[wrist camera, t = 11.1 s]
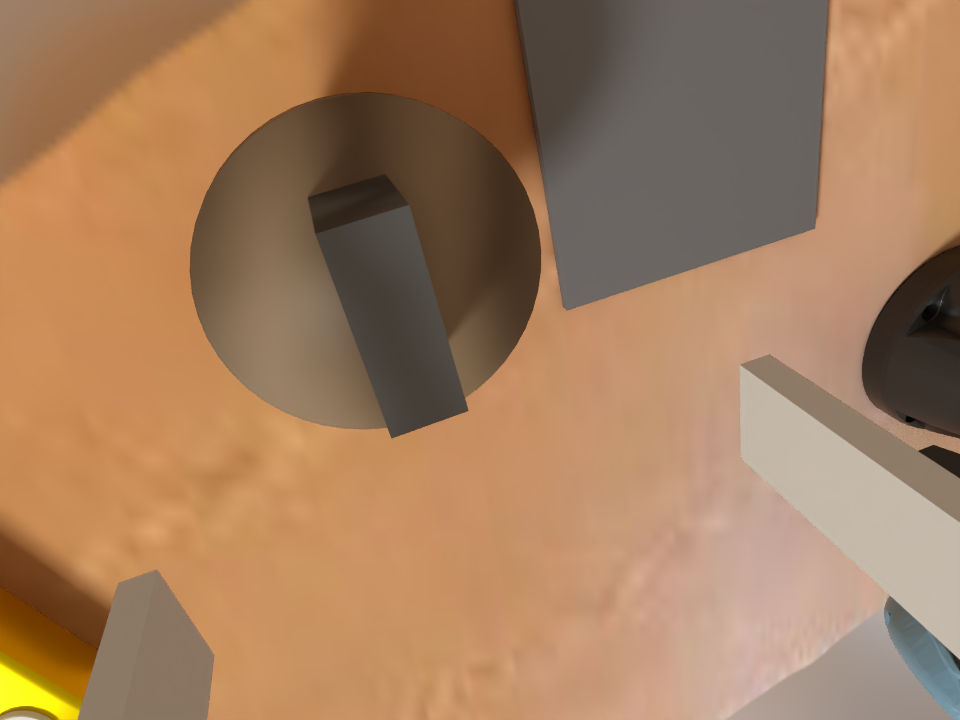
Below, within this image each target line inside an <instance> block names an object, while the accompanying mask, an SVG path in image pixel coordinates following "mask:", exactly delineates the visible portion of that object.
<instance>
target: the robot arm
mask: <svg viewBox="0 0 960 720" xmlns="http://www.w3.org/2000/svg"><path fill="white" fill-rule="evenodd" d="M862 379H863V385H864V389H865V392H866V394H867V396H868V398H869V399H870V401H871V402H872V403H873V404H874V405H875V406H876V407H877V408H879V409H880V410H882V411H883V412H885V413H887V414H888V415H890V416H892V417H893V418H895V419H896V420H898V421H900V422H902V423H904V424H906V425H909V426H912V427H916V428H921V429H926V430H929V431H932V432H936V433H940V434H943V435H947V436H951V437H955V438H959V439H960V246H958V247H955V248H953V249H951V250H948V251H946V252H944V253H943V254H941V255H939V256H937V257H936V258H934V259H932V260H931V261H929V262H928V263H927V264H925V265H924V266H923V267H921V268H920V269H919V270H918V271H917V272H915V273H914V274H913V275H912V276H911V277H910V278H909V279H908V280H907V281H906V282H905V283H904V284H903V285H902V286H901V287H900V288H899V289H898V291H897V292H896V293H895V294H894V295H893V297H892V298H891V299H890V301H889V302H888V303H887V305H886V306H885V308H884V309H883V311H882V313H881V314H880V316H879V318H878V319H877V321H876V323H875V325H874V327H873V329H872V331H871V334H870V336H869V339H868V342H867V345H866V348H865V352H864V357H863V364H862ZM740 429H741V459H742V460H743V461H744V462H745V463H747V464H748V465H749V466H750V467H751V468H752V469H753V470H754V471H755V472H756V473H757V474H759V475H760V476H761V477H762V478H763V479H764V480H765V481H766V482H767V483H768V484H769V485H770V486H772V487H773V488H774V489H775V490H776V491H777V492H778V493H779V494H780V495H781V496H782V497H784V498H785V499H786V500H787V501H788V502H789V503H790V504H791V505H792V506H793V507H794V508H795V509H797V510H798V511H799V512H800V513H801V514H802V515H803V516H804V517H805V518H806V519H807V520H809V521H810V522H811V523H812V524H813V525H814V526H815V527H816V528H817V529H818V530H819V531H821V532H822V533H823V534H824V535H825V536H826V537H827V538H828V539H829V540H830V541H831V542H832V543H834V544H835V545H836V546H837V547H838V548H839V549H840V550H841V551H842V552H843V553H844V554H846V555H847V556H848V557H849V558H850V559H851V560H852V561H853V562H854V563H855V564H856V565H857V566H859V567H860V568H861V569H862V570H863V571H864V572H865V573H866V574H867V575H868V576H869V577H871V578H872V579H873V580H874V581H875V582H876V583H877V584H878V585H879V586H880V587H881V588H882V589H884V590H885V591H886V592H887V593H888V594H889V595H890V596H889V598H888V599H887V602H886V604H885V609H884V617H885V623H886V626H887V628H888V632H889V635H890V638H891V640H892V642H893V644H894V645H895V647H896V649H897V650H898V652H899V654H900V655H901V657H902V658H903V660H904V661H905V663H906V664H907V666H908V667H909V669H910V670H911V671H912V673H913V674H914V675H915V677H916V678H917V679H918V680H919V681H920V683H921V684H922V685H923V686H924V688H925V689H926V690H927V691H928V692H929V693H930V695H931V696H932V697H933V698H934V699H935V700H936V701H937V702H938V703H939V704H940V706H942V708H943V709H944V710H945V711H946V712H947V713H948V714H949V715H950V716H951V717H952V718H953V719H954V720H960V454H958V453H955V452H953V451H950V450H947V449H944V448H941V447H938V446H935V445H932V446H929V447H927V448H924V449H922V450H919V451H917V450H915V449H914V448H912V447H911V446H909V445H908V444H906V443H904V442H903V441H901V440H900V439H898V438H897V437H895V436H894V435H892V434H891V433H889V432H888V431H886V430H885V429H883V428H882V427H880V426H878V425H877V424H875V423H874V422H872V421H871V420H869V419H868V418H866V417H865V416H863V415H862V414H860V413H859V412H857V411H855V410H854V409H852V408H851V407H849V406H848V405H846V404H845V403H843V402H842V401H840V400H839V399H837V398H836V397H834V396H832V395H831V394H829V393H828V392H826V391H825V390H823V389H822V388H820V387H819V386H817V385H816V384H814V383H813V382H811V381H809V380H808V379H806V378H805V377H803V376H802V375H800V374H799V373H797V372H796V371H794V370H793V369H791V368H790V367H788V366H786V365H785V364H783V363H782V362H780V361H779V360H777V359H776V358H774V357H773V356H771V355H770V354H769V355H766V356H763V357H761V358H758V359H755V360H752V361H749V362H746V363H744V364H741V365H740ZM213 662H214V654H213V652H212V651H211V649H210V648H209V646H208V645H207V643H206V642H205V640H204V639H203V637H202V636H201V634H200V633H199V631H198V630H197V628H196V627H195V625H194V624H193V622H192V621H191V619H190V618H189V616H188V615H187V613H186V612H185V610H184V609H183V607H182V606H181V604H180V603H179V601H178V600H177V598H176V597H175V595H174V594H173V592H172V591H171V589H170V588H169V586H168V585H167V583H166V582H165V580H164V579H163V577H162V576H161V574H160V573H159V571H158V570H154V571H152V572H149V573H146V574H143V575H140V576H137V577H134V578H132V579H129V580H126V581H123V582H120V583H118V586H117V589H116V593H115V596H114V599H113V603H112V606H111V609H110V613H109V616H108V619H107V623H106V626H105V629H104V633H103V636H102V639H101V643H100V646H99V649H98V653H97V656H96V659H95V662H94V666H93V669H92V672H91V676H90V679H89V682H88V686H87V689H86V692H85V696H84V699H83V702H82V706H81V709H80V712H79V716H78V719H77V720H207V717H208V708H209V699H210V689H211V680H212V671H213Z"/></svg>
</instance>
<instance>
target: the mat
mask: <svg viewBox="0 0 960 720" xmlns="http://www.w3.org/2000/svg"><path fill="white" fill-rule="evenodd" d="M514 4H515V10H516V16H517V23H518V29H519V35H520V41H521V47H522V54H523V60H524V66H525V72H526V79H527V85H528V91H529V97H530V103H531V110H532V116H533V122H534V128H535V135H536V141H537V147H538V153H539V159H540V166H541V172H542V178H543V184H544V190H545V197H546V203H547V209H548V215H549V222H550V228H551V234H552V240H553V246H554V253H555V259H556V265H557V271H558V277H559V284H560V290H561V296H562V302H563V307H564V308H565V309H566V310H570V309H573V308H576V307H579V306H582V305H585V304H588V303H591V302H594V301H597V300H600V299H603V298H606V297H609V296H612V295H615V294H618V293H621V292H624V291H627V290H630V289H633V288H636V287H640V286H643V285H646V284H649V283H652V282H655V281H658V280H661V279H664V278H667V277H670V276H673V275H676V274H679V273H682V272H685V271H688V270H691V269H694V268H697V267H700V266H703V265H706V264H709V263H712V262H715V261H718V260H721V259H724V258H727V257H730V256H733V255H736V254H739V253H742V252H745V251H748V250H752V249H755V248H758V247H761V246H764V245H767V244H770V243H773V242H776V241H779V240H782V239H785V238H788V237H791V236H794V235H797V234H800V233H803V232H806V231H809V230H812V229H815V224H816V206H817V189H818V172H819V154H820V137H821V120H822V102H823V85H824V68H825V50H826V33H827V16H828V0H514Z"/></svg>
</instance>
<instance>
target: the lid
mask: <svg viewBox="0 0 960 720" xmlns="http://www.w3.org/2000/svg"><path fill="white" fill-rule="evenodd" d="M540 273H541V246H540V238H539V230H538V226H537V222H536V218H535V214H534V210H533V207H532V205H531V202H530V200H529V197H528V195H527V192H526V190H525V188H524V186H523V185H522V183H521V181H520V179H519V178H518V176H517V174H516V172H515V171H514V169H513V168H512V167H511V165H510V164H509V163H508V162H507V160H506V159H505V158H504V156H503V155H502V154H501V153H500V152H499V151H498V150H497V149H496V148H495V147H494V146H493V145H492V144H491V143H490V142H489V141H488V140H487V139H486V138H485V137H484V136H483V135H481V134H480V133H479V132H477V131H476V130H475V129H473V128H472V127H471V126H469V125H468V124H466V123H465V122H463V121H461V120H459V119H458V118H456V117H454V116H452V115H450V114H448V113H447V112H445V111H443V110H441V109H439V108H436V107H434V106H431V105H428V104H426V103H423V102H420V101H418V100H415V99H411V98H406V97H402V96H397V95H393V94H383V93H370V92H361V93H345V94H338V95H333V96H328V97H323V98H318V99H315V100H312V101H309V102H306V103H304V104H301V105H298V106H295V107H293V108H291V109H289V110H287V111H285V112H283V113H281V114H279V115H278V116H276V117H274V118H272V119H270V120H269V121H268V122H266V123H265V124H263V125H262V126H261V127H259V128H258V129H257V130H255V131H254V132H253V133H251V134H250V135H249V136H248V137H247V138H246V139H245V140H244V141H243V142H242V143H241V144H240V145H239V146H238V147H237V148H236V149H235V150H234V151H233V152H232V153H231V155H230V156H229V157H228V159H227V160H226V161H225V163H224V164H223V165H222V167H221V168H220V169H219V171H218V172H217V174H216V176H215V178H214V180H213V182H212V184H211V185H210V187H209V189H208V191H207V193H206V195H205V198H204V200H203V203H202V206H201V209H200V212H199V214H198V217H197V220H196V223H195V228H194V233H193V238H192V243H191V253H190V278H191V287H192V295H193V299H194V303H195V307H196V310H197V314H198V318H199V320H200V322H201V325H202V327H203V329H204V332H205V334H206V337H207V338H208V340H209V342H210V343H211V345H212V347H213V348H214V350H215V352H216V353H217V355H218V357H219V358H220V359H221V361H222V362H223V363H224V364H225V365H226V367H227V368H228V369H229V370H230V372H231V373H232V374H233V375H234V376H235V377H236V378H237V379H238V380H239V381H240V382H241V383H242V384H243V385H244V386H246V387H247V388H248V389H249V390H250V391H252V392H253V393H254V394H256V395H257V396H258V397H260V398H261V399H263V400H264V401H265V402H267V403H269V404H271V405H272V406H274V407H276V408H278V409H280V410H281V411H283V412H285V413H288V414H290V415H293V416H295V417H298V418H300V419H303V420H306V421H309V422H313V423H317V424H320V425H324V426H331V427H337V428H344V429H377V428H388V430H389V433H390V436H391V438H394V437H397V436H400V435H403V434H405V433H408V432H411V431H414V430H417V429H419V428H422V427H425V426H428V425H430V424H433V423H436V422H439V421H442V420H444V419H447V418H450V417H453V416H455V415H458V414H461V413H464V412H467V411H468V407H467V404H466V400H465V397H467V396H468V395H470V394H471V393H472V392H474V391H475V390H477V389H478V388H479V387H480V386H481V385H482V384H483V383H485V382H486V381H487V380H488V379H489V378H490V377H491V376H492V375H493V374H494V373H495V372H496V371H497V370H498V368H499V367H500V366H501V365H502V364H503V363H504V362H505V360H506V359H507V358H508V356H509V355H510V353H511V352H512V351H513V349H514V348H515V346H516V345H517V343H518V341H519V339H520V337H521V336H522V334H523V332H524V330H525V328H526V326H527V323H528V321H529V318H530V316H531V313H532V311H533V308H534V304H535V300H536V296H537V293H538V287H539V280H540Z"/></svg>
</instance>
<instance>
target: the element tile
mask: <svg viewBox="0 0 960 720" xmlns="http://www.w3.org/2000/svg"><path fill="white" fill-rule="evenodd" d="M97 653H98V651H97V650H95V649H94V648H92V647H91V646H89V645H88V644H86V643H85V642H83V641H82V640H80V639H79V638H77V637H76V636H74V635H73V634H71V633H70V632H68V631H67V630H65V629H64V628H62V627H61V626H59V625H58V624H56V623H55V622H53V621H52V620H50V619H48V618H47V617H45V616H44V615H42V614H41V613H39V612H38V611H36V610H35V609H33V608H32V607H30V606H29V605H27V604H26V603H24V602H23V601H21V600H20V599H18V598H17V597H15V596H14V595H12V594H11V593H9V592H8V591H6V590H5V589H3V588H2V587H0V720H77V719H78V716H79V712H80V709H81V706H82V702H83V699H84V696H85V692H86V689H87V686H88V682H89V679H90V676H91V672H92V669H93V666H94V662H95V659H96V656H97Z"/></svg>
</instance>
